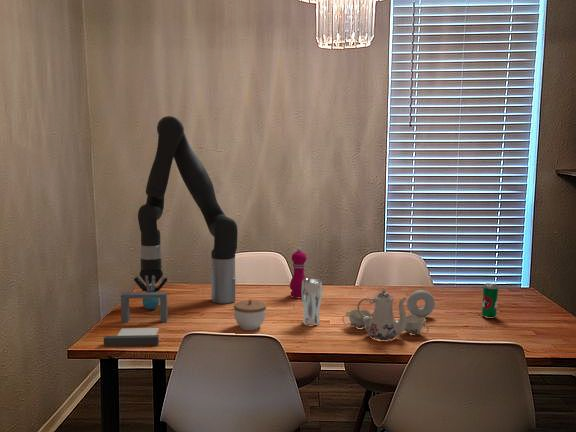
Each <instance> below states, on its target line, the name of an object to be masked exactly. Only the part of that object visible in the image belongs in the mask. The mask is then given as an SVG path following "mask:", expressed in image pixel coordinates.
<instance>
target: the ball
mask: <svg viewBox="0 0 576 432" xmlns="http://www.w3.org/2000/svg"><path fill="white" fill-rule="evenodd" d="M159 305H160V298H142V306H143V307H144V308H145V309H147V310H154V309H156V308H157V307H158V306H159Z"/></svg>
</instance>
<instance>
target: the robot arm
mask: <svg viewBox="0 0 576 432" xmlns="http://www.w3.org/2000/svg"><path fill="white" fill-rule="evenodd" d="M156 130H157V134H158V136H157V147H156V153H155V157H154V159H153V163H152V165H151V168H150V172H149V175H148V178H147V184H146V187H145V194H146V202H145V204H143V205H141V206H140V207H139V210H138V212H137V220H138V227H139V232H140V272H139V274H138V276H135V277H134V279H133V280H134V282H135V283H136V285H138V287H139V288H140V289H141V291H143V292H160V290H161V289H162V288H163V286H164V285H165V284H166V283H167V282H168V281H169V277H168V276H165V275H164V274H163V270H162V248H161V247H162V246H161V231H160V230H159V229H158V220H160V219H161V217H162V215H163V211H164V206H165V194H166V190H167V189H168V188H167V187H168V184H169V178H170V174H171V169H172V164H173V161H175V165H176V168H177V170H178V172H179V175H180V177H181V178H182V181H183V183H184V184H185V186H186V188H187V190H188V192H189V193H190V196H191V197H192V199H193V200H194V202H195V204H196V205H197V207H198V208H199V210H200V212H201V215H202V216H203V219H204V221H205V223H206V225H207V228H208V231H209V233H210V235H211V236H213V238H214V239H213V242H214V243H213V248H212V249H211V254H210V257H211V260H210V261H211V262H210V263H211V264H210V265H211V268H210V269H211V270H210V271H211V275H210V276H211V302H213V303H215V304H230V303H236V252H237V251H238V224H237V222H236V221H235V220H234V219H233V218H231V217H228V216H227V215H226V214H225V213H224V211H223V210H222V208H221V206H220V204H219V201H218V200H217V197H216V191H215V189H214V185H213V182H212V179H211V177H210V176H209V173H208V172H207V170H206V168H205V166H204V165H203V162H201V160H200V158H198V155H197V154H196V153H195V152H194V151H193V149H192V147H191V145H190V143H189V141H188V139H187V137H186V134H185V132H184V131H185V129H184V125H183V123H182V122H181V120H179V119H178V118H177V117H175V116H172V115H167V116H164V117H162V118H160V120H159V121H158V123H157V126H156ZM159 281H161V283H160V284H159V285H158V286H157V283H158V282H159Z"/></svg>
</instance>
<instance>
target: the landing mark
mask: <svg viewBox="0 0 576 432" xmlns="http://www.w3.org/2000/svg"><path fill="white" fill-rule="evenodd" d="M159 329H160V328H159V327H138V328H137V327H136V328H135V327H134V328H133V327H131V328H129V327H128V328H127V327H126V328H123V327H122V328H121V329H120V331H119V332H118V334H116V336H132V335H158V332H159Z"/></svg>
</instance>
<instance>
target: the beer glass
mask: <svg viewBox="0 0 576 432" xmlns="http://www.w3.org/2000/svg"><path fill="white" fill-rule="evenodd" d="M322 281H323V280H321V279H319V278H306V279H304V280H302V298H301V302H302V309H303V317H302V322H303V323H304V324H307V325H315V324H319V323H320V324H321V320H320V308H321V304H322V296H323V287H322V286H323V283H322ZM303 323H302V324H303ZM304 324H303V325H304ZM320 324H319V325H320Z"/></svg>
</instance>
